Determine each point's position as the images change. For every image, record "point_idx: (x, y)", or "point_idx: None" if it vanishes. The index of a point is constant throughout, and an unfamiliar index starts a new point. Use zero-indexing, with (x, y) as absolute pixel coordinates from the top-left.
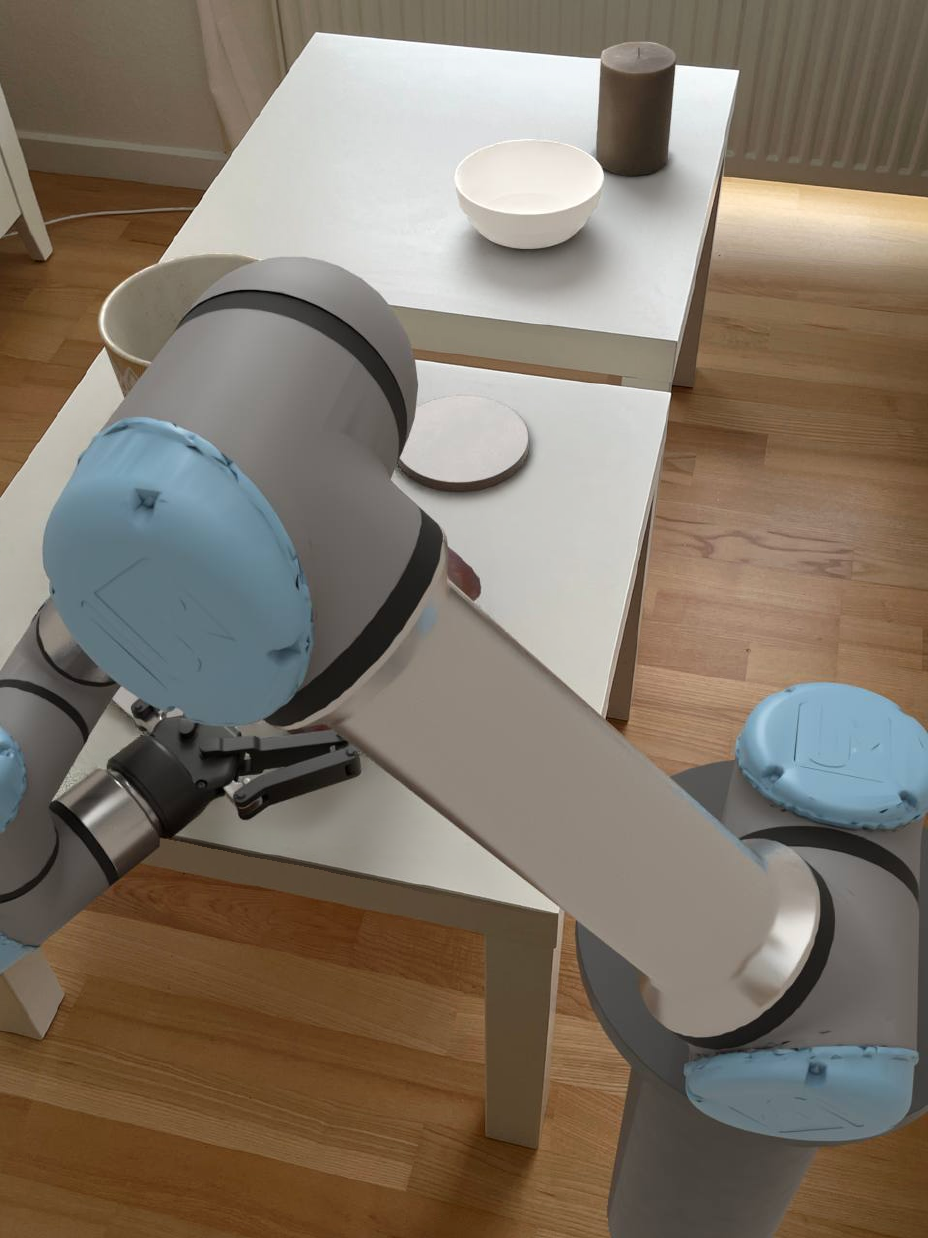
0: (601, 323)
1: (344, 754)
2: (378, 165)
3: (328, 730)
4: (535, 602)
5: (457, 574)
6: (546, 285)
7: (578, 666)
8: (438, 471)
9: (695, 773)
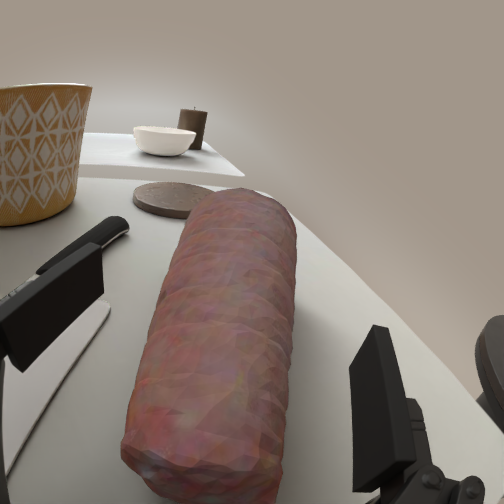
0: (214, 172)
1: (469, 502)
2: (92, 144)
3: (403, 492)
4: (306, 273)
5: (292, 227)
6: (180, 163)
7: (376, 307)
8: (175, 206)
9: (488, 339)
